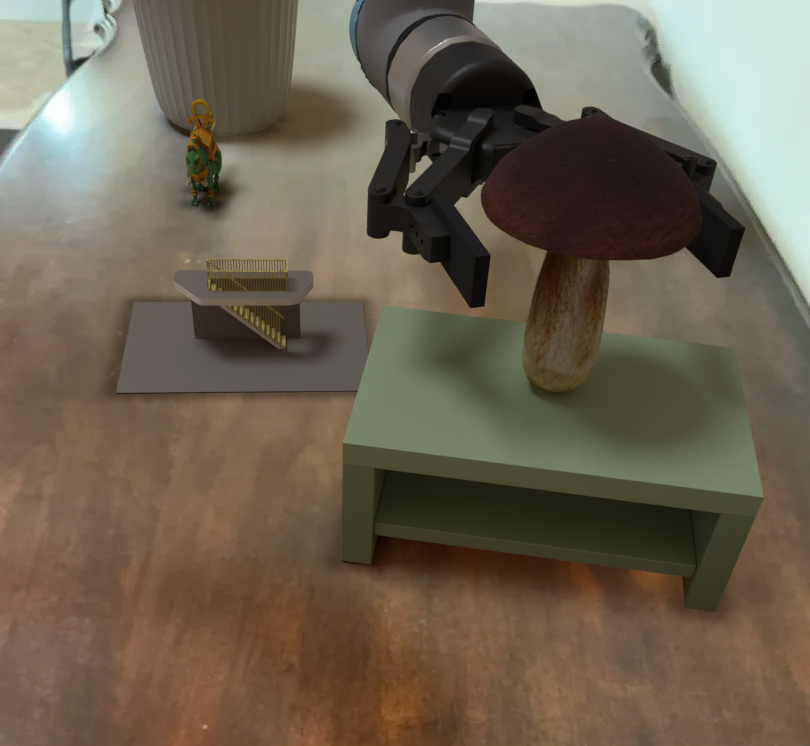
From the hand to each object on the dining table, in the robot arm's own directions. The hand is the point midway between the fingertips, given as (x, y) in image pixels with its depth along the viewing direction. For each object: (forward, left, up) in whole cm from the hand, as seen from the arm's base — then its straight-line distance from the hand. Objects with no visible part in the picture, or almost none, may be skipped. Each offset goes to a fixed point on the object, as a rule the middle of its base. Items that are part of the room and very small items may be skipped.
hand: (610, 268), depth 47 cm
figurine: (+33, -40, -18) cm, 55 cm away
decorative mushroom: (+1, -3, -9) cm, 10 cm away
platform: (+23, -16, -18) cm, 34 cm away
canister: (+36, -57, -18) cm, 70 cm away
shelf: (+1, -2, -18) cm, 18 cm away
